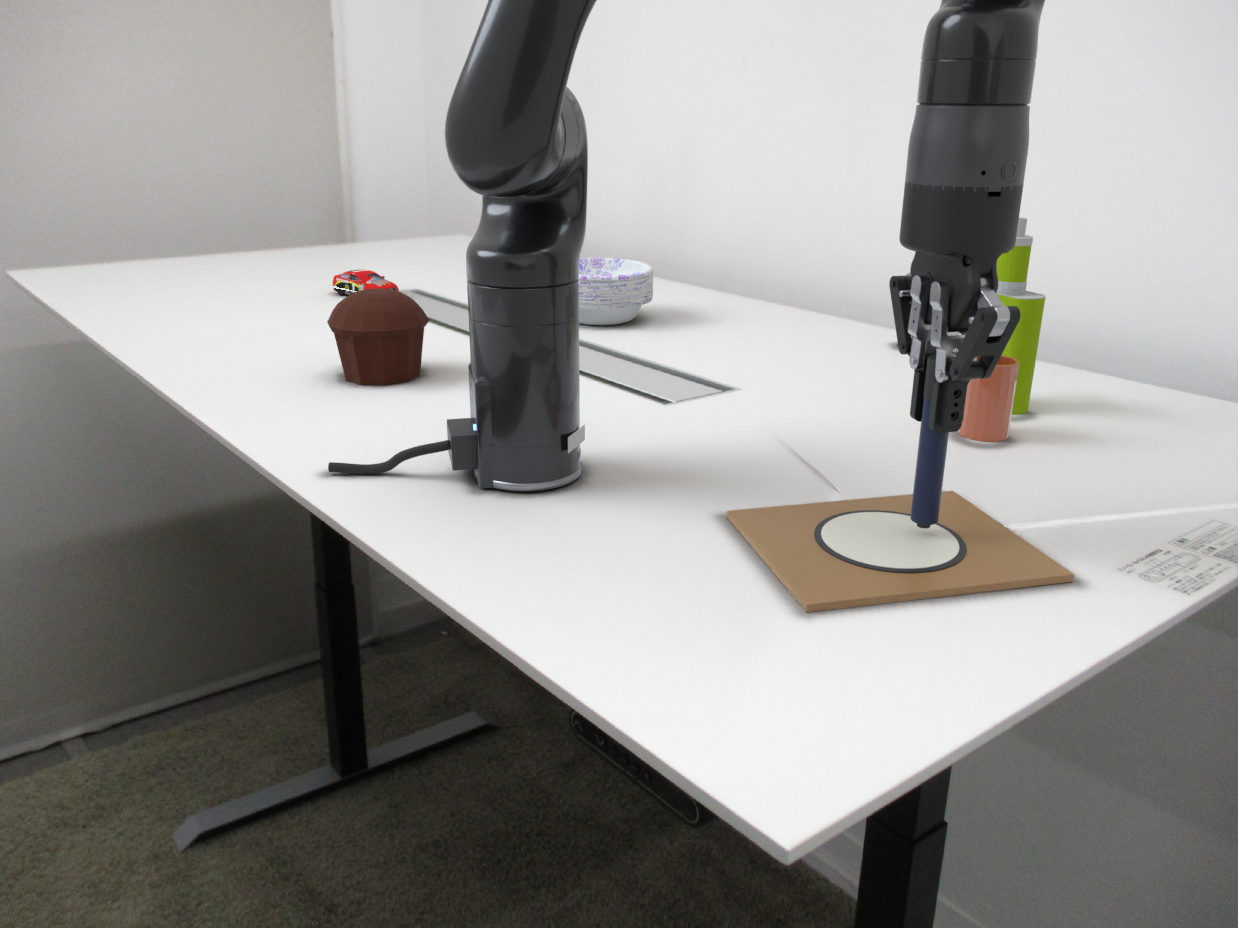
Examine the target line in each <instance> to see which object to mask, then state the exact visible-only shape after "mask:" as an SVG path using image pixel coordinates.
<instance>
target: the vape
mask: <svg viewBox="0 0 1238 928" xmlns="http://www.w3.org/2000/svg"><path fill="white" fill-rule="evenodd" d="M1027 224H1028V218H1026V217H1019V221H1018V228H1017V236H1016V243H1015V246H1014V248H1013V249H1012V250H1011V251H1009V252H1007V253H1003V254H1002V255H1001V256H1000V257H999V258H998V259H997V276H998V290H997V293H996V294H997V296H998V297H999V299H1000V300H1001V301H1002V303H1003V304H1004V306H1017V307H1018V308H1019V310H1020V314H1021V316H1020V321H1019V323H1018V324H1017V326H1016V328H1015V330H1014V332H1013V334H1012V336H1011V338H1010V340H1009V341H1008V343H1007V345H1006V347H1005V349H1004V351H1003V353H1002V355H1005V356H1009V357H1012V358H1015V359H1017V360H1018V361H1019V369H1018V375H1017V382H1016V389H1015V395H1014V402H1013V409H1012V415H1011V416H1015V415H1017V416H1018V415H1023V414H1026V413H1028V412H1029V405H1030V400H1031V393H1032V386H1033V380H1034V374H1035V367H1036V362H1037V361H1036V360H1037V354H1038V349H1039V342H1040V335H1041V329H1042V323H1043V315H1044V309H1045V304H1046V295H1045V294H1043V293H1038V292H1033V291H1029V290H1027V286H1028V280H1027V279H1028V271H1029V266H1030V260H1031V259H1030V258H1031V252H1032V246H1033V241H1034V237H1033V236H1032V235H1027V234H1026V231H1027Z"/></svg>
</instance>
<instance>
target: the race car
mask: <svg viewBox="0 0 1238 928" xmlns="http://www.w3.org/2000/svg"><path fill="white" fill-rule="evenodd" d="M333 286H337V287H339V288H345V289H349V290H352V291H361V290H365V289H374V288H382V289H390V290H394V291H399V292H400V290H399V287H398V285H397V284H396V283H394V282H393V281H391V280H387V279H386V276H385V275H380V274H379V273H377V272H376V271H373V270H369V269H353V270H348V271H344V272H341V273H339V274H335V275H333V279H332V289H333V291H335V292H337V294H338V295H339V296H346V295H348V296H349V295H350V294H352V293H354V292H351V291H346V290H341V289H336V288H333Z"/></svg>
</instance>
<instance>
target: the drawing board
mask: <svg viewBox="0 0 1238 928" xmlns="http://www.w3.org/2000/svg"><path fill="white" fill-rule="evenodd" d="M912 499H913V493H910V494H899V495H889V496H888V495H887V496H877V497H867V498H866V497H865V498H855V499H843V500H833V501H821V502H810V503H809V502H808V503H799V504H798V503H797V504H788V505H787V504H785V505H778V506H777V505H775V506H766V507H755V508H753V507H752V508H743V509H742V508H741V509H732V510H727V511H726V519H728V521H729V522H730V523H731V524H732V526H733V527H734V528H735V529H736V531H738V533H739V534H740V535H741V537H743V539H744V540H745V541H746V542H747V543H748V545H749V546H750V547H751V548H752V549H753V550H754V552H755V553H756V554H757V556H759V557H760V559H761V560H762V561H763V562H764V564H765V565H766V566H767V567H768V568H769V569H770V571H771V572H772V574H774V575H775V577H776V579H778V580H779V581H780V582H781V584H782V585H783V586H784V587H785V588H786V590H787V591H788V592H789V593H790V595H791V596H792V597H793V598H794V600H795V601H796V602H797V603H798V604H799V605H800V606H801V608H802V609H803V610H804V611H805V613H811V612H819V611H828V610H837V609H845V608H846V609H847V608H854V607H865V606H872V605H881V604H891V603H898V602H907V601H917V600H925V599H934V598H943V597H950V596H952V597H953V596H959V595H968V594H976V593H986V592H995V591H1002V590H1003V591H1004V590H1011V589H1020V588H1021V589H1022V588H1030V587H1038V586H1039V587H1040V586H1046V585H1048V586H1049V585H1055V584H1066V583H1073V582H1074V579H1075V573H1074V572H1072V571H1070V570H1069V569H1068V568H1066V567H1065V566H1063V565H1062V564H1060V563H1059V562H1058V561H1056V560H1054V559H1053V558H1052V557H1050V556H1049V555H1047V554H1046V553H1044V552H1042V551H1041V550H1040V549H1039V548H1037V547H1035V546H1034V545H1032V544H1031V543H1029V542H1028V541H1027V540H1025V539H1023V537H1021V536H1019V535H1018V534H1017V533H1016V532H1014V531H1012V530H1011V529H1009V528H1008V527H1006V526H1005V525H1003V524H1002V523H1000V522H999V521H997V520H996V519H995V518H993V517H992V516H990V515H989V514H987V513H986V512H984V511H983V510H981V509H980V508H979V507H977V506H976V505H974V504H973V503H971V502H970V501H969V500H967V499H965V498H964V497H962V496H961V495H960V494H959V493H957V492H955V491H954V490H945V491H944V490H942V493H941V501H940V509H939V518H938V522H937V523H936V524H934V525H930V528H920V527H918V526H917V523H915V522H913V521H912V520H911V519H910V517H911V508H912Z"/></svg>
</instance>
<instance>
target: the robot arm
mask: <svg viewBox="0 0 1238 928" xmlns="http://www.w3.org/2000/svg"><path fill="white" fill-rule="evenodd" d="M597 1H598V0H487V3H486V6H485V8H484V11H483V14H482V17H481V19H480V22H479V25H478V27H477V30H476V32H475V35H474V37H473V41H472V44H471V45H470V48H469V51H468V54H467V56H466V58H465V61H464V63H463V66H462V69H461V72H460V74H459V76H458V79H457V81H456V84H455V86H454V90H453V92H452V95H451V98H450V101H449V104H448V108H447V111H446V117H445V123H444V141H445V148H446V153H447V157H448V161H449V162H450V165H451V167H452V170H453V172H454V173H455V175H456V176H457V177H458V179H459V180H460V181H461V182H462V183H463V185H465V187H467V188H468V189H469V190H471V191H473V192H474V193H476V194H478V195H481V196H482V197H481V198H482V200H481V201H482V202H481V214H480V220H479V223H478V226H477V228H476V231H475V233H474V235H473V237H472V239H471V240H470V242H469V243H468V245H467V249H466V252H465V268H466V269H465V270H466V287H467V288H466V290H467V291H466V292H467V309H468V310H467V313H468V332H469V351H470V352H469V354H470V362H469V363H468V370H467V371H468V387H469V389H468V390H469V391H468V392H469V410H470V412H469V413H470V417H463V418H462V417H461V418H447V419H446V433H447V439H446V440H441V441H436V442H431V443H426V444H421V445H417V446H413V447H410V448H407V449H404V450H401V451H399V452H397V453H395V454H394V455H393V456H391V457H390V458H389V459H388V460H386V461H383V462H379V463H371V464H370V463H369V464H368V463H367V464H366V463H365V464H363V463H361V464H359V463H347V462H336V461H335V462H330V461H329V462H328V465H327V469H328V472H329V473H338V474H339V473H340V474H353V475H377V474H382V473H383V474H384V473H387V472H389V471H392V470H393V469H395V468H396V467H397V466H399V465H400V464H401V463H404V462H405V461H408V460H411V459H413V458H417V457H421V456H426V455H430V454H436V453H440V452H441V453H442V452H446V451H448V452H447V453H448V456H449V461H450V463H451V469H452V471H454V472H455V471H467V470H474V476H475V478H476V480H477V484H478V487H479V489H498V490H504V491H513V492H537V491H544V490H552V489H556V488H560V487H564V486H566V485H569V484H570V483H572V482H574V481H576V480H577V479H578V478H580V476H581V474H582V461H581V444H582V443H583V442H584V441H585V440H586V424H583V425H582V426H581V401H580V400H581V398H580V397H581V395H580V393H581V392H580V388H581V387H580V383H581V382H580V323H579V259H581V258H580V256H581V253H582V249H583V246H584V242H585V239H586V231H587V212H588V211H587V210H588V180H589V179H588V177H589V175H588V173H589V149H588V148H589V147H588V145H589V144H588V142H589V141H588V131H587V130H588V129H587V125H586V119H585V116H584V115H585V114H584V112H583V109H582V106H581V105H580V103H579V100H578V99H577V96H576V95H575V94H574V93H573V91H572V90H571V89H570V88H569V86H568V81H569V77H570V74H571V70H572V66H573V62H574V59H575V56H576V52H577V48H578V45H579V43H580V40H581V36H582V33H583V31H584V28H585V26H586V24H587V22H588V18H589V17H590V15H591V13H592V11H593V9H594V7H595V5H596V3H597ZM1045 2H1046V0H941V2H940V5H939V8H938V10H937V11H936V12H935V13H934V14H933V15H932V16H931V17H930V19H929V21H928V23H927V25H926V29H925V33H924V37H923V41H922V48H921V55H920V60H921V61H920V65H919V75H918V86H917V93H916V97H917V98H916V103H917V105H916V106H915V111H914V112H915V113H914V118H913V122H912V125H911V129H910V135H909V138H908V145H907V146H908V147H907V156H906V157H907V158H906V166H905V167H906V168H905V177H904V187H903V188H904V189H903V198H902V207H901V217H900V218H901V219H900V229H899V243H900V245H901V246H902V247H903V248H904V249H907V250H909V251H913V252H914V255H913V259H912V261H911V263H910V271H909V272H908V273H906V274H904V275H892V276H891V277H890V279H889V286H888V287H889V292H890V300H891V307H892V313H893V319H894V325H895V326H894V327H895V333H896V339H897V344H898V345H897V348H898V352H899V353H900V354H901V355H908V357H909V361H908V362H909V366H910V368H911V369H912V370H914V371H913V379H912V380H913V381H912V390H911V400H910V409H909V415H910V418H911V419H913V420H915V421H917V422H920V423H921V419H922V410H923V401H924V397H923V394H924V385H925V376H926V367H927V359H928V356H930V355H934V354H936V368H935V376H936V380H934V382H933V391H932V400H931V408H930V417H929V428H930V429H931V430H933V431H935V432H936V433H947V432H949V433H956V432H958V430H959V429H960V428H961V426H962V421H963V416H964V408H965V407H964V406H965V400H966V393H967V386H968V383H969V382H970V381H971V380H973V379H986V378H989V377H990V376H991V374H992V372H993V370H994V368H995V366H996V364H997V362H998V360H999V359H1000V357H1001V355H1002V353H1003V351H1004V349H1005V347H1006V345H1007V343H1008V341H1009V340H1010V338H1011V336H1012V334H1013V332H1014V330H1015V328H1016V326H1017V324H1018V323H1019V321H1020V316H1021V314H1020V310H1019V308H1018V307H1017V306H1004V304H1003V303H1002V301H1001V300H1000V299H999V297H998V296H997V294H996V293H997V290H998V276H997V259H998V258H999V257H1000V256H1001V255H1002V254H1003V253H1007V252H1009V251H1011V250H1012V249H1013V248H1014V246H1015V243H1016V236H1017V228H1018V221H1019V218H1020V213H1021V206H1022V199H1023V198H1022V197H1023V191H1024V182H1025V175H1026V170H1027V169H1026V168H1027V161H1028V156H1029V147H1030V146H1029V145H1030V111H1031V106H1030V104H1031V102H1032V94H1033V88H1034V87H1033V86H1034V79H1035V72H1036V65H1037V57H1038V49H1039V33H1040V31H1039V30H1040V22H1041V18H1042V14H1043V10H1044V6H1045ZM964 331H967V333H966V334H964V335H961V334H960V333H959V332H964ZM911 335H912V337H913V338H911ZM957 348H959V350H958V349H957ZM955 350H957V352H956V354H955V355H954V356H955V358H954V360H953V362H952V363H951V358H952V356H953V351H955ZM977 356H981V357H980V359H979V361H977Z"/></svg>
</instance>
